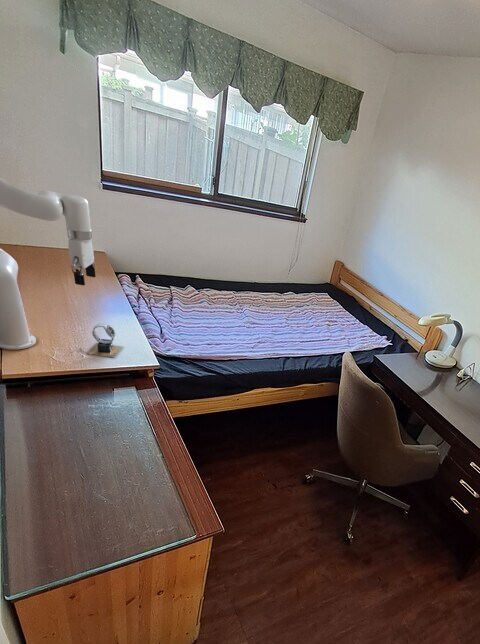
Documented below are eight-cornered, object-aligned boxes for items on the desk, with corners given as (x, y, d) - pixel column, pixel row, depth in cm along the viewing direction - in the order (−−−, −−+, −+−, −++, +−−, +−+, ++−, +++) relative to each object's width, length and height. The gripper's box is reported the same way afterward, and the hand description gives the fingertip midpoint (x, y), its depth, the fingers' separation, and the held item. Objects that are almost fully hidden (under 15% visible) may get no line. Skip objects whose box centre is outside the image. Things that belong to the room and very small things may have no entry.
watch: (115, 353, 157) (113, 329, 151) (93, 351, 154) (90, 327, 148) (117, 346, 161) (115, 322, 155) (96, 345, 159) (93, 320, 152)
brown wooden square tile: (87, 354, 153) (87, 353, 153) (96, 343, 160) (96, 343, 160) (113, 357, 155) (113, 357, 154) (121, 347, 162) (121, 346, 162)
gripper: (79, 226, 144) (84, 271, 153) (56, 237, 130) (64, 286, 139) (100, 231, 145) (105, 275, 154) (80, 242, 131) (86, 289, 140)
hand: (85, 280), depth 147 cm, fingers open, 9 cm apart
